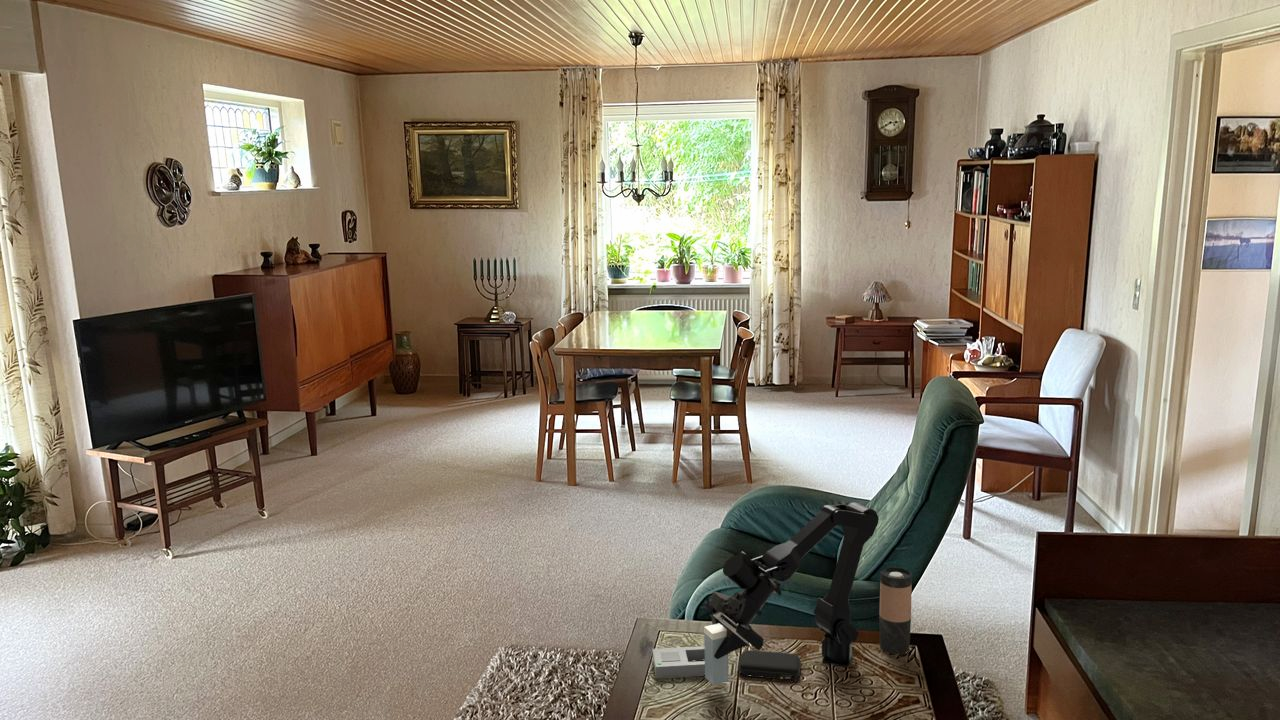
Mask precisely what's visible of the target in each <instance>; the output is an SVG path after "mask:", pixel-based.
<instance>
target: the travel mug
mask: <svg viewBox="0 0 1280 720" xmlns="http://www.w3.org/2000/svg"><path fill="white" fill-rule="evenodd" d="M912 576H913V575H912V572H911V571H910V570H908V569H906V568H902V567H896V566H895V567H893V566H891V567H890V566H889V567H886V568H885V569H884V570H882V571H880V581H879V582H880V585H879V586H880V588H879V613H878V614H879V647H880V649H881V651H883V652H884V651H886V652H885V653H887V654H890V653H891V654H890V655H896V654H900V655H904V654H903V653H905V654H907V653H908V652H909V651H910V642H911V626H912V623H911V622H912V581H913V579H912V578H913V577H912ZM908 650H909V651H908ZM907 651H908V652H907ZM906 652H907V653H906Z"/></svg>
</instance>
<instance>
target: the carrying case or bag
mask: <svg viewBox="0 0 1280 720" xmlns="http://www.w3.org/2000/svg"><path fill="white" fill-rule="evenodd" d="M801 663H802V662H801V658H800V657H799V656H798V655H797V654H794V653H791V652H790V653H788V652H780V651H779V652H777V651H776V652H775V651H765V650H759V651H758V650H753V649H752V650H751V649H750V650H744V651H743V652H742V653H741V654H740V656H739V661H738V665H737V666H738V667H737V670H738V672H739V673H740V674H741V673H742V674H743V675H742V674H741V675H742V676H745V675H751V676H750V677H755V676H763V677H762V678H765V677H774V678H773V679H777V678H779V680H780V681H782V680H796V679H797V678H798V677H800V675H801V667H802V666H801V665H802V664H801Z"/></svg>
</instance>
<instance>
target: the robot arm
mask: <svg viewBox="0 0 1280 720" xmlns="http://www.w3.org/2000/svg"><path fill="white" fill-rule="evenodd" d="M879 518H880V517H879V515H878V513H877V511H876V510H875V509H873V508H870V507H868V506H866V505H864V504H861V503H859V502H855V501H853V502H850V503H848V504H842V503H837V504H833V505H832V504H825V505H824V506H823V507H822V508H821V509H820V511H819V513H817V514H816V515H815V516H814V517H813V518H812V519H811V520H810V521H808V523H806V524H805V525H804V526H802V528H801V529H800V530H799V531H798V532H797V533H795V535H793V536H792V537H791V538H790V539H788V540H787V541H786V542H782V543H780V544H777V545H775V546H773V547H772V548H770V549H769V550H767V551H766V552H765V553H764V554H763V555H760V556H757V557H754V558H752V559H751V557H750V556H749V555H748V554H747V553H745V552H744V551H740V552H739V554H735V555H732V556H731V557H730V558H727V560H726V561H725V562H724V564H723V568H722V574H723V575H724V576H725V577H727V578H728V579H729V581H731V582H732V583H734V584H735V585H736V586H737V587H738V588H739V589H741V590H742V591H741V592H740V593H739V592H737V591H736V592H734V593H733V595H732V596H730V595H727V594H725V593H722V592H718V591H713V593H712V595H711V598H710V599H708V600H707V602H706V603H705V604H704V608H706V609H707V610H708V611H710V612H711V613H710V614H709V615H710V618H711V622H712V623H711V625H714V624H718V623H720V624H721V625H722V626H724V627H725V628H726V629H727V636H726V638H725V639H724V641H723V642H722V644H721V645H720V647H719V648H718V650H717V652H716V653H715V655H714V657H715V658H716V659H719V658H721V657H723V656H725V655H727V654H728V655H729V654H731V653H733V652H734V651H737V650H740V649H742V648H744V647H749V644H750V645H751V646H752V647H753V648H754V649H756V651H761V648H763V646H764V644H765V643H764V642H765V638H763V637H762V636H761V635H760V634H758V633H757V632H756V631H755V629H753V628H752V626H751V625H750V623H751V622H753V620H754V619H755V617H756V616H759V617H761V616H762V614H763V612H762V611H761V609H762V608H763V606H764V605H765V604H766V603H767V601H768V600H769V599H770V597H771V596H772V594H773V593H775V594H776V595H778V596H779V597H780V596H782V589H781V586H782V585H781V583H780V582H787V581H788V580H790V579H791V578H792V577H793V576H794V575H795V574H796V572H797V570H798V569H799V567H800V565H801V562H802V559H803V558H804V557H805V556H806V555H807V554H808V553H809V552H810V551H811V550H812V549H813V548H815V546H816V545H817V544H819V542H821V541H822V540H823V539H824V538H825V537H826V536H827V535H828V534H830V533H831V531H832V530H833V529H835V528H836V527H837V526H841V528H842V529H841V530H842V534H843V540H842V544H841V547H840V551H839V555H838V559H837V561H836V565H835V569H834V572H833V577H832V580H831V583H830V587H829V590H828V593H827V594H826V595H825V596H824V597H823V598H822V597H821V598H820V597H818V598H817V599H816V606H815V608H814V611H813V612H812V613H813V614H814V616H813V617H814V618H813V619H814V621H815V623H816V626H818V627H819V629H820V631H821V632H823V633H825V634H824V637H823V639H822V640H821V657H823V658H822V660H821V662H822V661H823V662H822V663H826V664H831V665H835V666H841V667H849V666H850V665H851V662H852V660H853V657H854V653H853V643H854V642H856V641H857V640H858V636H859V631H858V630H857V629H856V628H854V627H853V626H852V625H851V623H850V622H851V615H852V613H851V608H850V603H849V599H850V595H851V592H852V589H853V585H854V581H855V577H856V576H857V575H856V574H857V571H858V566H859V564H860V560H861V557H862V552H863V549H864V546H865V543H867V542H868V541H869V540H870V539H871V538H872V537H873V536H874V534H875V531H876V529H877V526H878V524H879ZM772 579H774V580H772ZM729 626H731V627H732V628H733V630H731V629H730V628H729ZM748 643H749V644H748Z"/></svg>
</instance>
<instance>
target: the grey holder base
mask: <svg viewBox="0 0 1280 720" xmlns="http://www.w3.org/2000/svg"><path fill="white" fill-rule="evenodd" d="M702 659H705V646H704V645H703V646H701V645H700V646H683V647H682V646H681V647H665V648H664V647H663V648H652V663H653V668H654V669H653V670H654V675H655V679H660V680H661V679H675V678H692V677H705V676H704V675H705V660H703V661H693V660H702Z"/></svg>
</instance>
